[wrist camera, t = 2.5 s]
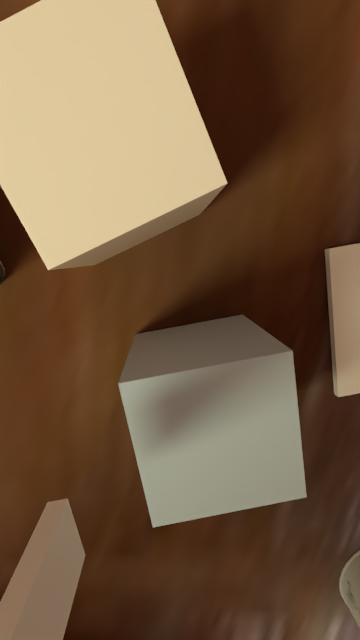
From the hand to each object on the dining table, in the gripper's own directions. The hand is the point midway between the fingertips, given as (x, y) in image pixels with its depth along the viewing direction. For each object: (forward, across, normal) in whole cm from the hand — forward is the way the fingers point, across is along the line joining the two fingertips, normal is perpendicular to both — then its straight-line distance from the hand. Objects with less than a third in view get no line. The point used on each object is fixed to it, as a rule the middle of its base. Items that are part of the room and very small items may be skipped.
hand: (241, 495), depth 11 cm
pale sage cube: (+12, 0, 0) cm, 13 cm away
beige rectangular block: (+13, -3, +15) cm, 20 cm away
